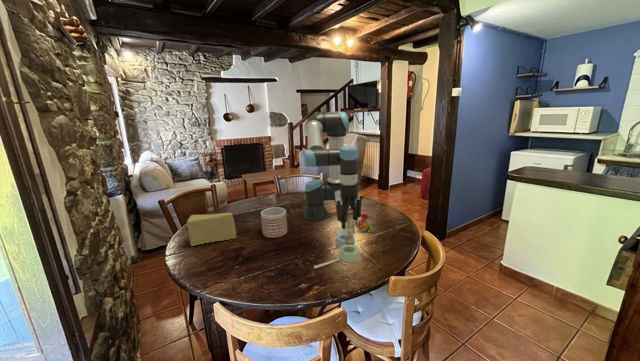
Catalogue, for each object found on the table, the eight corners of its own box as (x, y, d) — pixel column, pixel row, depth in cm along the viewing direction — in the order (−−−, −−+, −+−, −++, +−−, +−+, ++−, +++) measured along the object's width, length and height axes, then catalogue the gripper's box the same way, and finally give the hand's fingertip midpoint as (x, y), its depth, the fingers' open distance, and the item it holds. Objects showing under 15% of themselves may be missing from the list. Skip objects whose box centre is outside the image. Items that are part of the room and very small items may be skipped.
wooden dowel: (343, 242, 120) (343, 209, 116) (350, 240, 122) (350, 207, 118) (348, 245, 117) (347, 211, 113) (354, 243, 119) (354, 210, 115)
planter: (292, 231, 150) (291, 210, 146) (272, 240, 140) (270, 218, 137) (277, 225, 159) (275, 205, 155) (257, 233, 149) (255, 212, 146)
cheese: (237, 234, 148) (234, 209, 144) (235, 243, 139) (232, 216, 135) (195, 239, 144) (190, 213, 140) (190, 248, 135) (185, 220, 131)
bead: (335, 255, 124) (335, 247, 123) (351, 250, 128) (351, 242, 127) (346, 264, 116) (346, 256, 115) (363, 259, 120) (363, 251, 119)
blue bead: (332, 244, 134) (332, 237, 133) (344, 238, 140) (344, 231, 139) (345, 250, 127) (345, 243, 126) (358, 244, 133) (358, 237, 132)
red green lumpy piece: (361, 237, 144) (376, 230, 144) (353, 221, 141) (368, 213, 141) (358, 233, 150) (373, 225, 150) (350, 216, 147) (365, 209, 147)
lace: (313, 268, 114) (313, 266, 114) (339, 259, 120) (339, 257, 120) (314, 269, 113) (314, 267, 113) (340, 260, 119) (340, 258, 119)
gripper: (336, 188, 106) (337, 241, 112) (369, 182, 113) (369, 232, 119) (327, 184, 112) (328, 235, 118) (359, 178, 120) (359, 226, 126)
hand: (349, 233), depth 119 cm, fingers closed on wooden dowel, 3 cm apart
